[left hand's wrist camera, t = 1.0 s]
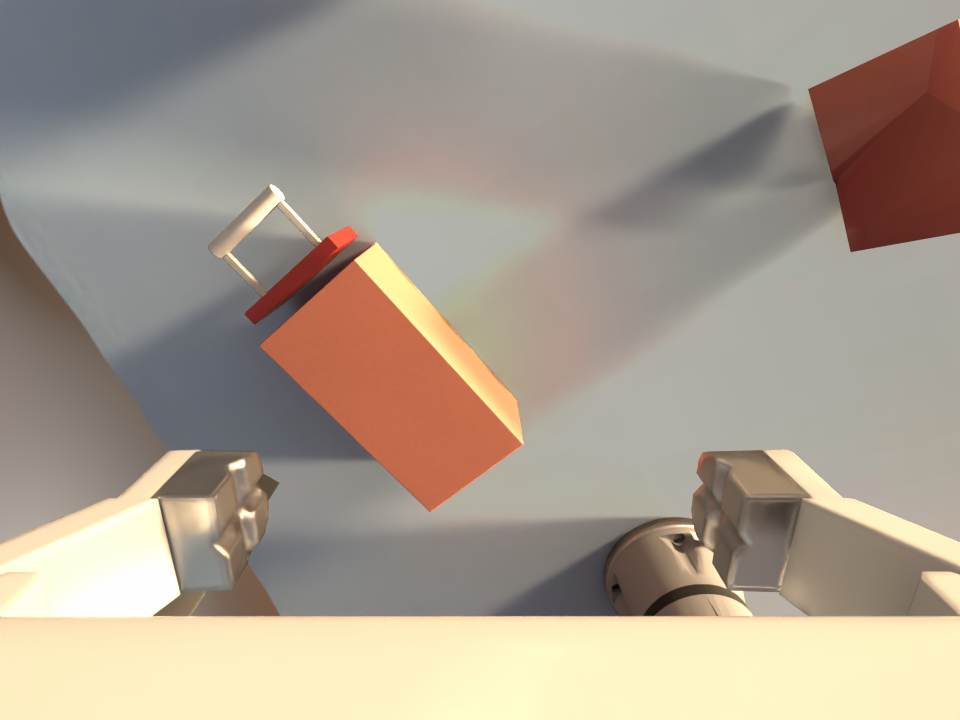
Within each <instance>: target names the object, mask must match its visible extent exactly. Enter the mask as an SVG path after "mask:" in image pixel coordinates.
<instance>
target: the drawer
mask: <svg viewBox="0 0 960 720" xmlns="http://www.w3.org/2000/svg"><path fill="white" fill-rule="evenodd" d="M283 200H284V195H283V194H282V193H281V191H280V190H279V189H278V188H276V187H275V186H273V185H269V186H268V187H267V188H266V189H265V190H264V191H263V192H262V193H261V194H260V195H259V196H258V197H257V198H256V199H255V200H254V201H253V202H252V203H251V204H250V205H249V206H248V207H247V208H246V209H245V210H244V211H243V212H242V213H241V214H240V215H239V216H238V217H237V218H236V219H235V220H234V221H233V222H232V223H231V224H230V225H229V226H228V227H227V228H226V229H225V230H224V231H223V232H222V233H221V234H220V235H219V236H218V237H217V238H216V239H215V240H214V241H213V242H212V243H211V244H210V245H209V246H208V249H209V251H210V252H211V253H212V254H213V255H214V256H216V257H217V258H220V259H224V260H225V261H226V262H227V263H228V264H229V265H230V266H231V267H232V268H233V269H234V270H235V271H236V272H237V273H238V274H239V275H240V276H241V277H242V278H243V279H244V280H245V281H246V282H247V283H248V284H249V285H250V286H251V287H252V288H253V289H254V290H255V291H256V292H257V293H258V294H259V295H260V296H261V297H262V298H261V299H260V300H259V301H258V302H256V303H255V304H254V305H253V306H252V307H251V308H250V309H249V310H248V311H247V312H246V313H245V315H246V316H247V317H248V318H249V319H250V320H251V321H252V322H253V323H254V324H256V323H258V322H259V321H260V320H262V319H263V318H265V317H266V316H267V315H269V314H270V313H272V312H273V311H274V310H276V309H277V308H279V307H280V306H281V305H283V304H284V303H285V302H287V301H288V300H289V299H290V298H291V297H292V296H293V295H294V294H295V293H296V292H298V291H299V290H300V289H301V288H302V287H303V286H304V285H305V284H306V283H307V282H308V281H310V280H311V279H312V278H313V277H314V276H315V275H316V274H317V273H318V272H319V271H321V270H322V269H323V268H324V267H325V266H326V265H327V264H328V263H329V262H330V261H332V260H333V259H334V258H335V257H336V256H337V255H338V254H339V253H340V252H341V251H342V250H344V249H345V248H346V247H347V246H348V245H349V244H350V243H351V242H352V241H353V240H355V239H356V238H357V237H358V235H357V234H356V233H355V232H354V231H353V230H352V228H351V227H350V226H348V227H346V228H344V229H342V230H340V231H338V232H336V233H334V234H332V235H330V236H328V237H327V238H325V239H324V240H323V241H321V240H320V239H319V238H318V237H317V236H316V235H315V234H314V233H313V232H312V231H311V230H310V228H309V227H308V226H307V225H306V224H305V223H304V222H303V221H302V220H301V219H300V218H299V217H298V215H297V214H296V213H295V212H294V211H293V210H292V209H291V208H290V207H289V206H288V205H287V204H286V202H285V201H283ZM276 207H278V208H279V209H280V210H281V211H282V212H283V213H284V214H285V215H286V216H287V217H288V218H289V220H290V221H291V222H292V223H293V224H294V225H295V226H296V227H297V228H298V229H299V230H300V231H301V232H302V233H303V235H304V236H305V237H306V238H307V239H308V240H309V241H310V242H311V243H312V244H313V245H314V246H315V247H316V248H315V249H314V250H313V251H311V252H310V253H309V254H308V255H307V256H306V257H305V258H304V259H303V260H302V261H301V262H300V263H298V264H297V265H296V266H295V267H294V268H293V269H292V270H291V271H290V272H289V273H288V274H287V275H286V276H284V277H283V278H282V279H281V280H280V281H279V282H278V283H277V284H276V285H275V286H274V287H273V288H272V289H270V290H269V291H267V290H266V289H265V287H264V286H263V285H262V284H261V283H260V282H259V281H258V280H257V279H256V278H255V277H254V276H253V275H252V274H251V273H250V272H249V271H248V270H247V269H246V268H245V267H244V266H243V265H242V264H241V263H240V262H239V261H238V260H237V259H236V258H235V257H234V256H233V255H232V254H231V253H229V252H230V251H231V250H232V249H233V248H234V247H235V246H236V245H237V244H239V243H240V242H241V241H242V240H243V239H244V238H245V237H246V236H247V235H248V234H249V233H250V232H251V231H252V230H253V229H254V228H255V227H256V226H257V225H258V224H259V223H260V222H261V221H262V220H263V219H264V218H265V217H266V216H267V215H268V214H269V213H270V212H271V211H272V210H273V209H274V208H276Z"/></svg>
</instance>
